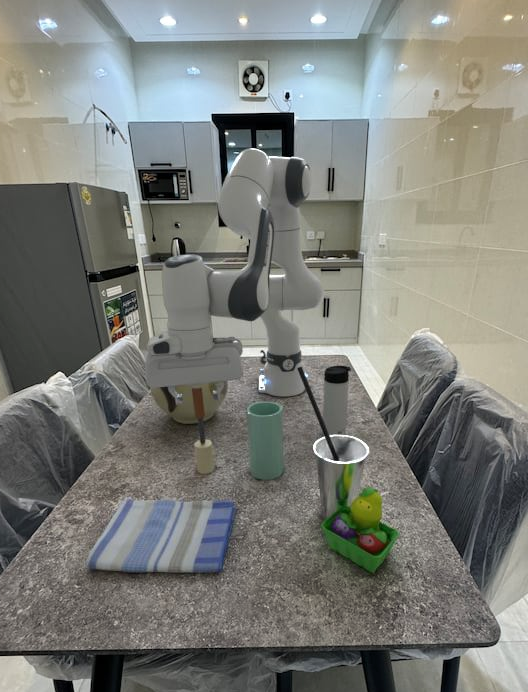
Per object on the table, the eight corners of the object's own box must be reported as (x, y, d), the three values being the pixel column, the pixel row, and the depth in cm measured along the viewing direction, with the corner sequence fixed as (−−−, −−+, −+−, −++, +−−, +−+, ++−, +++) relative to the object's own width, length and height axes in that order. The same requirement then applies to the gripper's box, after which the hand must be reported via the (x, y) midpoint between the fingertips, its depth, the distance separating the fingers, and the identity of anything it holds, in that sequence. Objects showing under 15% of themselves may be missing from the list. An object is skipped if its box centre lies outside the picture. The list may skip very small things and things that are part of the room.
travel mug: (345, 443, 101) (350, 372, 93) (321, 441, 102) (323, 370, 94) (347, 432, 107) (351, 364, 99) (323, 430, 108) (325, 362, 100)
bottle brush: (197, 465, 93) (187, 385, 84) (213, 463, 94) (205, 383, 85) (197, 475, 89) (187, 391, 81) (215, 472, 90) (206, 389, 81)
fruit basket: (318, 547, 68) (319, 495, 63) (345, 521, 74) (349, 472, 69) (375, 583, 61) (381, 527, 56) (401, 551, 67) (408, 498, 62)
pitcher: (217, 396, 132) (211, 324, 122) (241, 424, 112) (236, 341, 102) (150, 409, 123) (137, 332, 113) (163, 441, 104) (149, 352, 94)
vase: (247, 463, 93) (244, 403, 87) (279, 459, 95) (277, 399, 88) (253, 481, 86) (249, 418, 80) (286, 476, 88) (286, 414, 81)
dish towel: (125, 505, 80) (123, 494, 78) (238, 507, 78) (237, 496, 77) (82, 573, 64) (78, 560, 63) (222, 578, 62) (220, 565, 61)
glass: (296, 505, 79) (296, 366, 67) (344, 492, 82) (352, 358, 70) (321, 541, 69) (325, 387, 57) (373, 524, 73) (388, 376, 61)
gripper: (239, 332, 84) (243, 391, 89) (141, 339, 79) (151, 400, 85) (243, 339, 78) (247, 401, 83) (138, 347, 74) (149, 412, 79)
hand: (198, 401), depth 84 cm, fingers open, 7 cm apart
